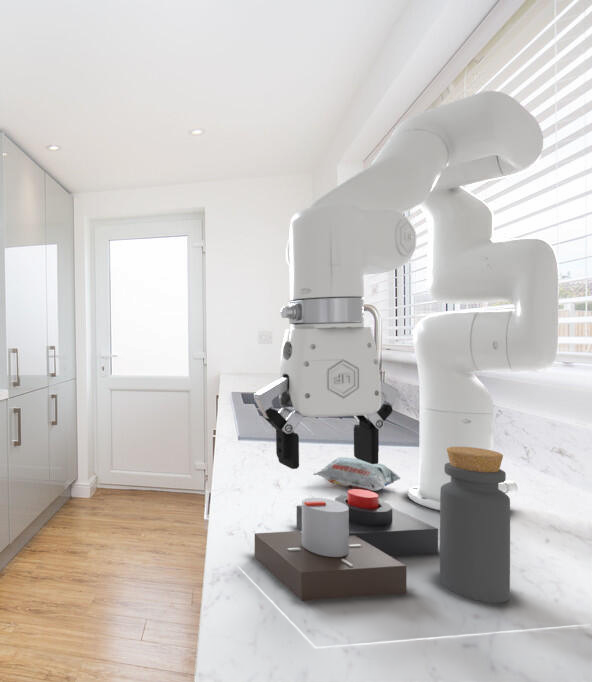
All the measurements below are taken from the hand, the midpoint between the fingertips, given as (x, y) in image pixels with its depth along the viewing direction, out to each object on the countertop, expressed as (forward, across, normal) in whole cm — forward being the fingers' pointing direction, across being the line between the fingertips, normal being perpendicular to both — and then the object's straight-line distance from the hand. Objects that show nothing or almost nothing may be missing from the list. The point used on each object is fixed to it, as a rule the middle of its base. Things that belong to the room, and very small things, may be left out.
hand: (327, 463), depth 55 cm
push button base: (+13, +10, +8) cm, 18 cm away
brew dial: (+10, -1, 0) cm, 10 cm away
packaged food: (+14, +25, +29) cm, 41 cm away
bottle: (+13, +13, -5) cm, 19 cm away
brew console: (+13, -1, 0) cm, 13 cm away
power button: (+9, +10, +8) cm, 15 cm away
